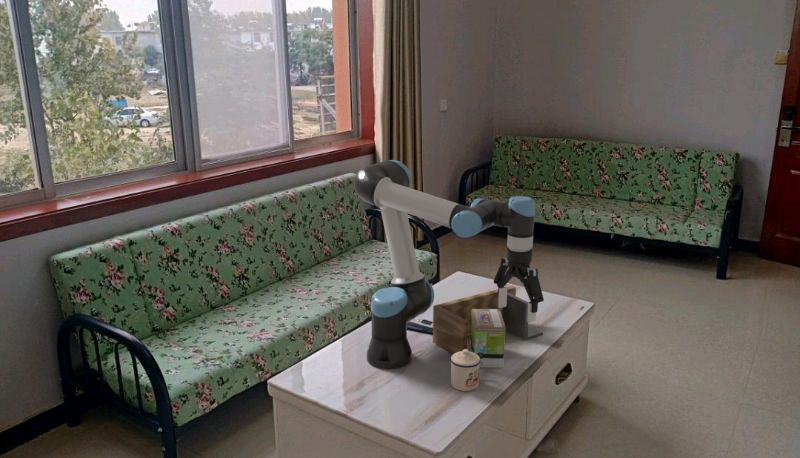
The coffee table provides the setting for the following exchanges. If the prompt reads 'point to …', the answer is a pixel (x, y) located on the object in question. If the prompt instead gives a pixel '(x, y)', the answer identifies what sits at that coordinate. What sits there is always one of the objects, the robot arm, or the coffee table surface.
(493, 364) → the tea box
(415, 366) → the coffee table surface
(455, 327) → the shelf
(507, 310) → the bookend
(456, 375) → the teacup with lid
